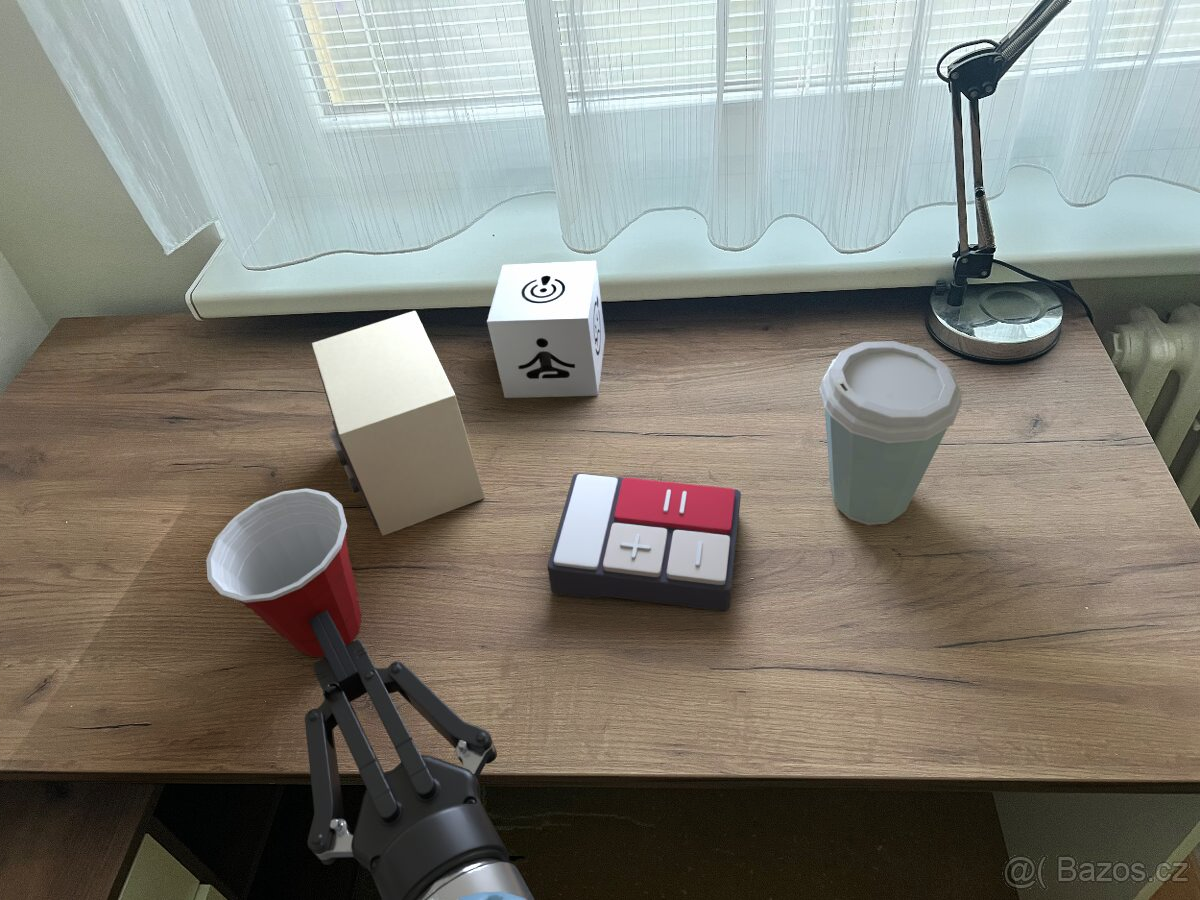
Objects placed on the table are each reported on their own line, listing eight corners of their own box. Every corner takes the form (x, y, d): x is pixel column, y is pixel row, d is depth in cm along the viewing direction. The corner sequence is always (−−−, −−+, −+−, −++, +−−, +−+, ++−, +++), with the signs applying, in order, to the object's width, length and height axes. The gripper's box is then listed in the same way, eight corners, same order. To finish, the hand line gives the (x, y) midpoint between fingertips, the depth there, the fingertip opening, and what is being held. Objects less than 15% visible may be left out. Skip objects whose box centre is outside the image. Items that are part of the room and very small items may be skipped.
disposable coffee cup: (894, 446, 82) (919, 316, 72) (959, 528, 75) (997, 397, 64) (789, 476, 81) (799, 349, 70) (845, 564, 73) (865, 435, 63)
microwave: (372, 540, 80) (327, 438, 71) (343, 446, 90) (300, 346, 81) (485, 498, 83) (455, 395, 74) (445, 411, 92) (415, 310, 83)
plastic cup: (295, 570, 79) (244, 479, 70) (407, 582, 76) (367, 489, 68) (238, 677, 71) (172, 589, 63) (359, 693, 69) (309, 604, 61)
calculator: (731, 586, 68) (545, 563, 71) (728, 617, 71) (549, 594, 74) (742, 483, 76) (573, 465, 78) (738, 515, 79) (576, 497, 81)
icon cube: (518, 339, 100) (502, 264, 93) (605, 336, 99) (596, 260, 92) (504, 397, 93) (486, 321, 86) (598, 395, 92) (587, 318, 85)
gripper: (373, 986, 52) (259, 695, 67) (560, 857, 56) (413, 610, 71) (333, 947, 47) (219, 641, 62) (543, 808, 51) (388, 553, 66)
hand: (323, 625), depth 66 cm, fingers closed
